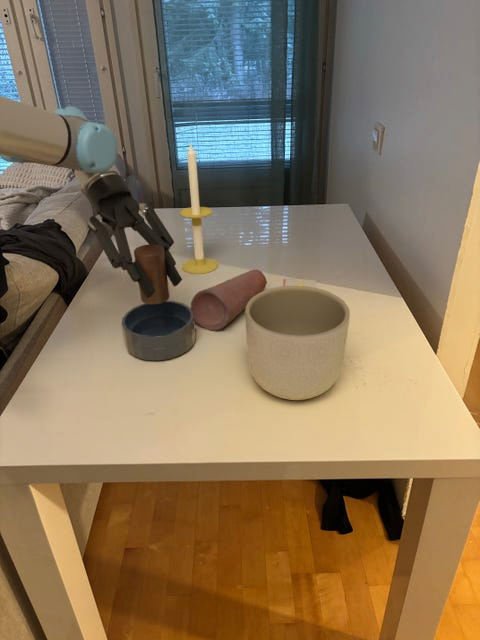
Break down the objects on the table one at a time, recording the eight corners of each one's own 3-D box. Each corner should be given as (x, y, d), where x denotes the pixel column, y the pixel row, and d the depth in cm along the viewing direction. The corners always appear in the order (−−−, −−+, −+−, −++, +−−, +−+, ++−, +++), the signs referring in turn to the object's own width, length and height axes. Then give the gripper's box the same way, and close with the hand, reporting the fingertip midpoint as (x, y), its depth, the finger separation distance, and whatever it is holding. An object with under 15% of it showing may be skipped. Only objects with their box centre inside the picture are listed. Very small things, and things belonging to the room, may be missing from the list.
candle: (204, 255, 134) (195, 136, 118) (225, 266, 128) (219, 141, 111) (174, 265, 129) (161, 142, 112) (195, 277, 122) (184, 148, 105)
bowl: (153, 372, 88) (149, 345, 85) (113, 343, 97) (108, 318, 93) (209, 341, 96) (207, 316, 93) (168, 317, 105) (165, 294, 102)
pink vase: (228, 336, 98) (226, 298, 93) (190, 325, 102) (187, 289, 97) (271, 292, 114) (271, 259, 109) (237, 285, 118) (235, 252, 113)
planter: (259, 349, 93) (258, 280, 85) (345, 361, 89) (353, 290, 81) (235, 404, 79) (232, 329, 72) (336, 421, 75) (345, 343, 67)
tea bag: (283, 315, 105) (284, 274, 99) (313, 317, 103) (316, 276, 98) (281, 323, 101) (282, 282, 96) (312, 326, 100) (315, 284, 95)
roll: (152, 307, 87) (144, 258, 82) (135, 298, 91) (127, 250, 86) (175, 297, 91) (169, 249, 85) (158, 288, 94) (152, 241, 89)
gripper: (138, 185, 97) (195, 280, 95) (54, 207, 86) (116, 314, 84) (150, 163, 91) (210, 264, 89) (61, 183, 80) (128, 298, 78)
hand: (164, 288), depth 87 cm, fingers closed on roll, 5 cm apart
